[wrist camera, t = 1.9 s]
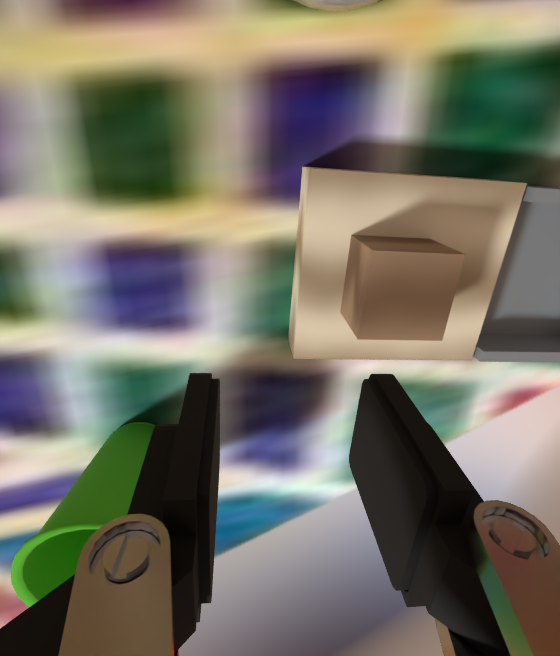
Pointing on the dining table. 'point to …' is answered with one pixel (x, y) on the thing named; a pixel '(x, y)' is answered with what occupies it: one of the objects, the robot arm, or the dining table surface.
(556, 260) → the bin
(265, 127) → the dining table surface
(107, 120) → the dining table surface
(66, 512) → the cup
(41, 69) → the dining table surface
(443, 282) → the block
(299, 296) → the board
